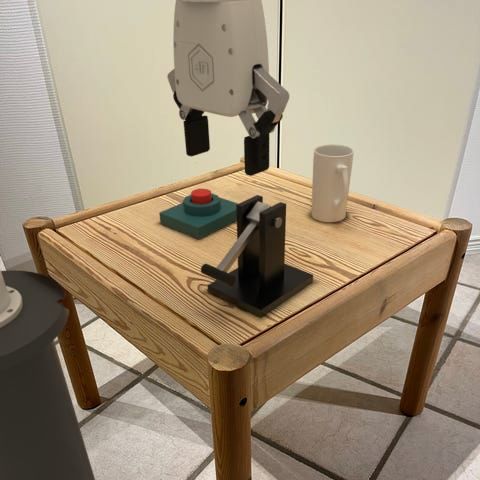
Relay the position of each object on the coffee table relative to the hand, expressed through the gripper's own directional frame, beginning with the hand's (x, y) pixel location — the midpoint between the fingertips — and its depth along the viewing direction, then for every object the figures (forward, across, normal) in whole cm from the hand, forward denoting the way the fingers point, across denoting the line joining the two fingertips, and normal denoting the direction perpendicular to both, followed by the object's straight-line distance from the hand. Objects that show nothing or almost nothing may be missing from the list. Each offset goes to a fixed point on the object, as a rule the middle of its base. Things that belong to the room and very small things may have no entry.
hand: (226, 162), depth 58 cm
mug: (+21, -8, +33) cm, 40 cm away
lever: (+13, -1, +4) cm, 14 cm away
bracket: (+20, -2, +7) cm, 22 cm away
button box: (+20, -25, +16) cm, 36 cm away
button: (+17, -25, +17) cm, 35 cm away
